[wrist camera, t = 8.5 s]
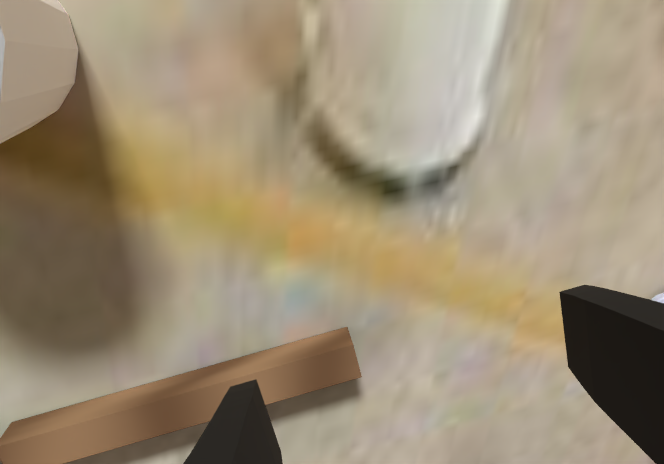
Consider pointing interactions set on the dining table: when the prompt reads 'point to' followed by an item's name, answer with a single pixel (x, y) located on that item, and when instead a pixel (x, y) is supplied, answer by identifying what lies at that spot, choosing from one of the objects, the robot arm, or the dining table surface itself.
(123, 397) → the channel
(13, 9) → the white cup
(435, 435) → the dining table surface
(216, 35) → the dining table surface
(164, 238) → the dining table surface
